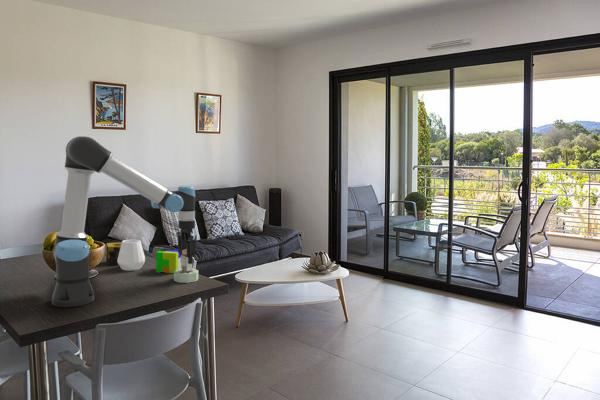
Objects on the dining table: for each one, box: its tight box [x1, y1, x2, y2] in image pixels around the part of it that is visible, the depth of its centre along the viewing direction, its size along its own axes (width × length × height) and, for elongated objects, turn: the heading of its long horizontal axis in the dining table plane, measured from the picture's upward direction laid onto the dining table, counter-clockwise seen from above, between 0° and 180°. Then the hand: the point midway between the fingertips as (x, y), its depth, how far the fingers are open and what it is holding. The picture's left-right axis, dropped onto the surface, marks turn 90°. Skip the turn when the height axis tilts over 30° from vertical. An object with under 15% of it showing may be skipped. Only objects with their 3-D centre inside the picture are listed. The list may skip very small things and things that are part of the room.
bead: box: [173, 268, 199, 284], centre depth 222 cm, size 10×10×4 cm
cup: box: [117, 239, 146, 272], centre depth 240 cm, size 13×13×14 cm
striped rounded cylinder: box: [182, 248, 191, 273], centre depth 222 cm, size 4×4×14 cm
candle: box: [105, 242, 122, 267], centre depth 250 cm, size 10×10×10 cm
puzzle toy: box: [155, 247, 181, 274], centre depth 238 cm, size 10×10×10 cm
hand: (186, 269), depth 222 cm, fingers closed on striped rounded cylinder, 4 cm apart
